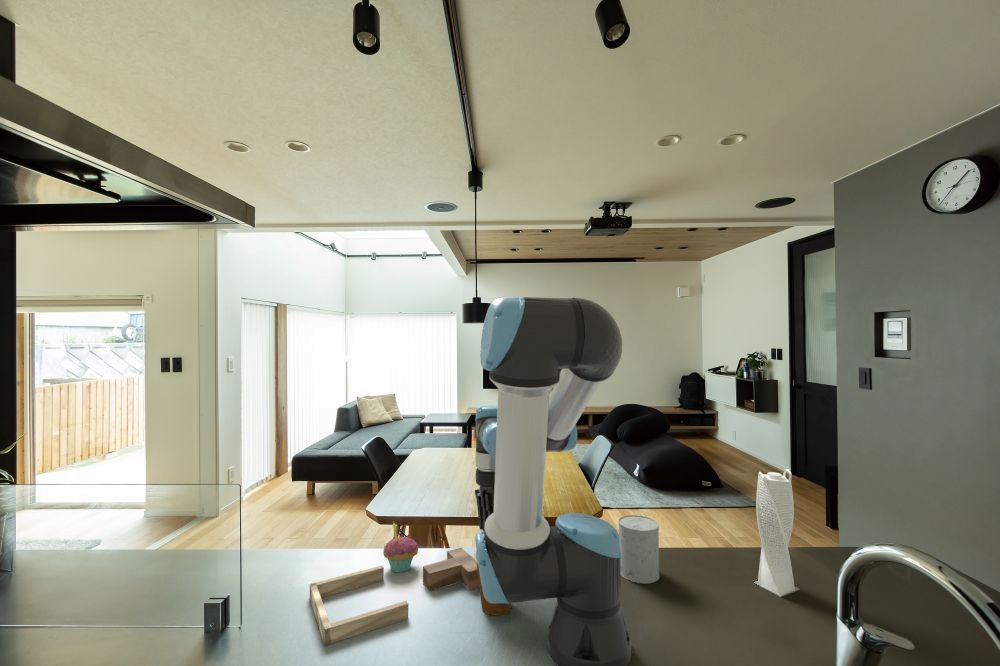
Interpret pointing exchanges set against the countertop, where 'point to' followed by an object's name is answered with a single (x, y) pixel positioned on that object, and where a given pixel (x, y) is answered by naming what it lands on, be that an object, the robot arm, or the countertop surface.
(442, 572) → the t block
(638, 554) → the white marble cylinder
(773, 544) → the skyscraper
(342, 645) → the countertop surface
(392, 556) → the cupcake
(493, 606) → the disposable coffee cup
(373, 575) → the bay
